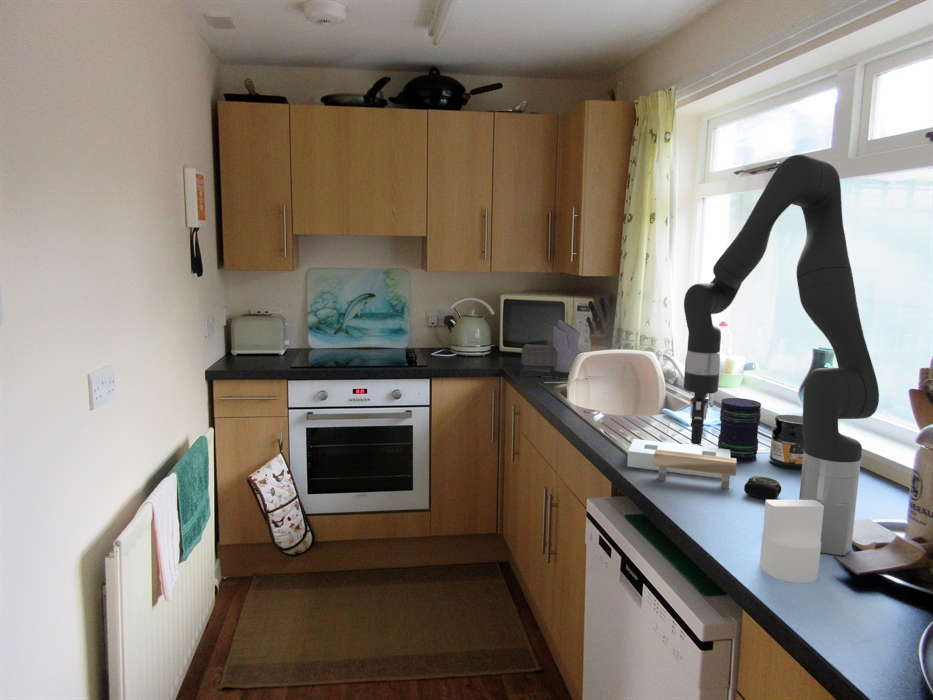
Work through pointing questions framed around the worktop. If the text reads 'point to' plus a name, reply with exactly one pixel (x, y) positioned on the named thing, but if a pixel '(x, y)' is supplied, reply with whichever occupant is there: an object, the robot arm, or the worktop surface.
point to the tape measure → (763, 487)
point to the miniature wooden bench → (695, 464)
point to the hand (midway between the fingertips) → (696, 438)
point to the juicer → (552, 354)
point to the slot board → (645, 450)
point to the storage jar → (740, 428)
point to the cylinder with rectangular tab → (792, 539)
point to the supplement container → (787, 442)
